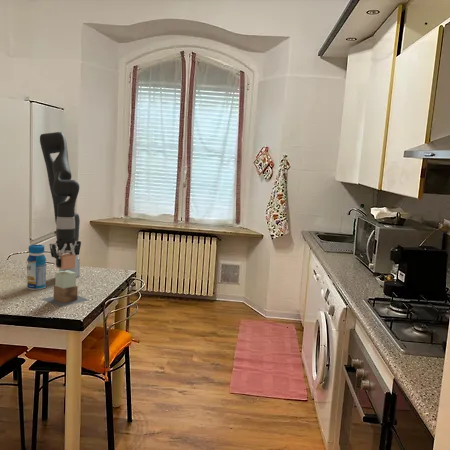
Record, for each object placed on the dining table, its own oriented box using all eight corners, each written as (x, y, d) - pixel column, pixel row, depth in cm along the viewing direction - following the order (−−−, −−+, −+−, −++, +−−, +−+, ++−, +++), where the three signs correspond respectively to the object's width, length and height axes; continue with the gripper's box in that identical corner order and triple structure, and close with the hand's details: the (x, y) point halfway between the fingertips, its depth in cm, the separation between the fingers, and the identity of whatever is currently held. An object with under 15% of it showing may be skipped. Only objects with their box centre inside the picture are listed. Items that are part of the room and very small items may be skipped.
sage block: (67, 283, 203) (67, 270, 202) (75, 286, 199) (75, 272, 198) (55, 285, 198) (55, 272, 197) (63, 288, 195) (63, 274, 194)
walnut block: (68, 296, 204) (68, 282, 204) (77, 299, 200) (77, 286, 199) (53, 299, 199) (53, 285, 198) (62, 303, 195) (63, 289, 194)
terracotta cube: (67, 265, 201) (67, 253, 201) (74, 267, 198) (75, 255, 197) (56, 267, 197) (56, 254, 196) (63, 269, 194) (63, 256, 193)
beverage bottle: (45, 290, 213) (45, 247, 210) (25, 290, 210) (25, 247, 208) (47, 285, 221) (47, 244, 218) (28, 285, 218) (27, 244, 216)
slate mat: (70, 293, 209) (70, 292, 209) (89, 300, 201) (89, 299, 201) (41, 300, 198) (41, 299, 198) (60, 307, 190) (60, 306, 190)
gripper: (75, 224, 203) (75, 262, 205) (45, 227, 192) (45, 267, 194) (85, 226, 199) (85, 265, 201) (55, 229, 187) (55, 270, 190)
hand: (65, 266), depth 198 cm, fingers closed on terracotta cube, 5 cm apart
